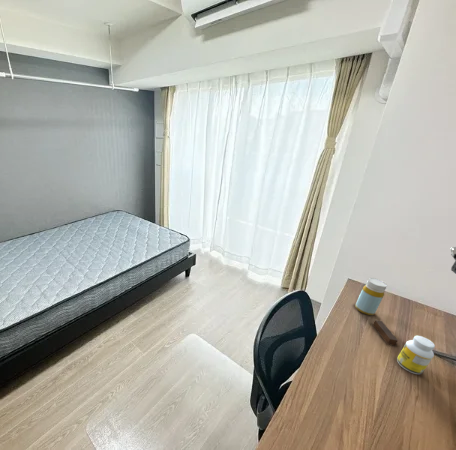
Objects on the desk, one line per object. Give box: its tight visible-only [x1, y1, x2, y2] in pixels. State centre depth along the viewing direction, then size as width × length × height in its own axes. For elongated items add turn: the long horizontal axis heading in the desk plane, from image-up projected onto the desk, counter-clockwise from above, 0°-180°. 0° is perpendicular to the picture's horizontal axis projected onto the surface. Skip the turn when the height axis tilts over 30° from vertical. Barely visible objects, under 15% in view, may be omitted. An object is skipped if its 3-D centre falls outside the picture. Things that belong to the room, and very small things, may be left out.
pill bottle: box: [396, 335, 436, 375], centre depth 80 cm, size 6×6×12 cm
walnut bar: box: [372, 319, 399, 346], centre depth 95 cm, size 10×2×2 cm, turn 166°
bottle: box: [354, 277, 388, 316], centre depth 105 cm, size 7×7×15 cm
